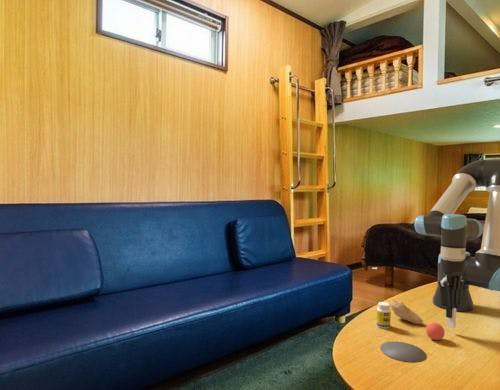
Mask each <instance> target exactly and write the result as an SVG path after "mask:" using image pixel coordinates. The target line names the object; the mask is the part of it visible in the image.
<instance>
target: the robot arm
mask: <svg viewBox="0 0 500 390" xmlns="http://www.w3.org/2000/svg"><path fill="white" fill-rule="evenodd" d="M479 187H480V188H481V187H485V190H486V191H487V192H488V193H489V197H488V200H487V201H488V202H487V209H486V215H485V220H484V227H483V224H482V223H481V222H480V221H479V220H477V219H474V218H467V216H466V215H464V214H457V213H456V211H457V209H458V208H459V207H460V205H461V204H462V203H463V201H464V200H465V199H466V198H467V196H468V194H469V193H470V192H472V191H474V190H475V189H476V188H479ZM455 213H456V214H455ZM414 229H415V231H416V233H418V234H421V235H425V236H432V237H440V238H441V239H440V253H439V254H438V260H437V261H438V262H437V286H436V289H435V291H434V295H433V296H432V304H434V305H435V306H436V307H438V308H441V309H444V310H445V326H447V327H449V328H452V329H455V328H456V327H457V312H471V311H473V310H474V301H473V299H472V295H471V293H470V286H472V287H476V288H482V289H486V290H490V291H496V292H500V158H494V159H492V158H491V159H479V160H478V159H477V160H474V161H473V162H470V163H468V164H466V165H465V166H463V167H461V168H460V169H459V170H458V171H457V172H456V173H455V174H454V175H453V177H452V179H451V183H450V184H449V186H448V187H447V189H446V190H445V191H444V193H443V194H442V195H441V197H440V198H439V199H438V200H437V201H436V203H435V204H434V206H433V207H432V208H431V210H430V211H429V212H428V213H427V215H425V214H423V215H418V216H417V217H416V218H415V221H414ZM481 236H482V240H481V245H480V249H479V250H477V251H476V252H475V255H474V256H471V253H470V252H469V251H467V250H466V248H467V241H472V240H475V239H478V238H479V237H481Z"/></svg>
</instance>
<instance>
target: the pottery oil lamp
mask: <svg viewBox="0 0 500 390" xmlns="http://www.w3.org/2000/svg"><path fill="white" fill-rule="evenodd" d="M389 304H390V309H391V310H392V312H393V314H394V315H395V316H397V317H399V319H401V320H403V321H404V320H406V321H408V322H410V323H412V324H414V325H422V324H423V323H424V322H423V321H424V320H423V319H422V317H420V316H419V315H418V314H417V313H416V312H414V311H413V309H411V308H410V307H409V306H406V305H405V304H404V303H403V302H402V301H399V300H394V299H392V301H390V302H389Z"/></svg>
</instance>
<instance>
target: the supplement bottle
mask: <svg viewBox="0 0 500 390" xmlns="http://www.w3.org/2000/svg"><path fill="white" fill-rule="evenodd" d="M391 310H392V309H391V305H390V302H386V301H379V302H378V304H377V308H376V327H377V328H380V329H385V330H387V329H390V328H391V316H392V315H391V313H392V312H391Z"/></svg>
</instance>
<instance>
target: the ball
mask: <svg viewBox="0 0 500 390" xmlns="http://www.w3.org/2000/svg"><path fill="white" fill-rule="evenodd" d="M425 333H426V335H427V337H429V338H430V339H432V340H433V341H440V340H442V339H443V338H444V336H445V329H444V327H443V326H442V325H441V324H439V322H431V323H428V324H427V326H426V328H425Z"/></svg>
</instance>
